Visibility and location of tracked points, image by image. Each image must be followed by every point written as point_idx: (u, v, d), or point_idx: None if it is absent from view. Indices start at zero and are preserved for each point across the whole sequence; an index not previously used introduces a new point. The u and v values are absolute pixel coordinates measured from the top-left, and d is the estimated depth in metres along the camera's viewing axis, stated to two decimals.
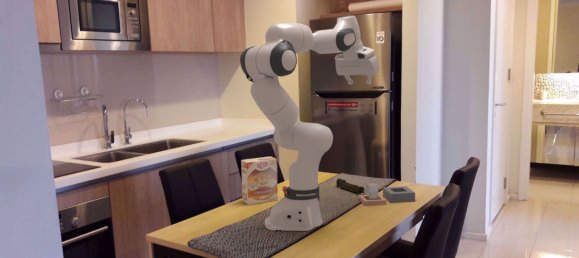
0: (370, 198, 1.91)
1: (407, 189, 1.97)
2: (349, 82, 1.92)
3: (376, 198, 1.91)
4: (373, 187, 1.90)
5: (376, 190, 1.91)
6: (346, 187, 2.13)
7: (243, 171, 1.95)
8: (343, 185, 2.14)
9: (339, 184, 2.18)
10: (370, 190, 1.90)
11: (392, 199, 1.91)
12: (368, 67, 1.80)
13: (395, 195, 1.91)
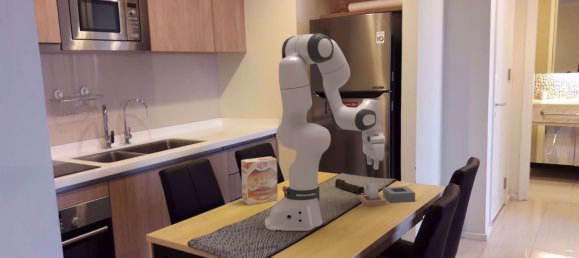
0: (370, 198, 1.91)
1: (407, 189, 1.97)
2: (367, 162, 1.96)
3: (376, 198, 1.91)
4: (373, 187, 1.90)
5: (376, 190, 1.91)
6: (346, 187, 2.12)
7: (243, 171, 1.95)
8: (343, 185, 2.14)
9: (338, 184, 2.17)
10: (370, 190, 1.90)
11: (392, 199, 1.91)
12: (373, 152, 1.83)
13: (395, 195, 1.91)
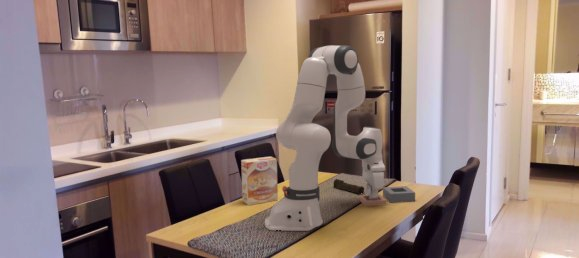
0: (370, 198, 1.91)
1: (407, 189, 1.97)
2: None
3: (376, 198, 1.91)
4: None
5: None
6: (345, 187, 2.12)
7: (243, 171, 1.95)
8: (342, 186, 2.14)
9: (337, 185, 2.17)
10: (370, 190, 1.90)
11: (392, 199, 1.91)
12: (373, 180, 1.84)
13: (395, 195, 1.91)
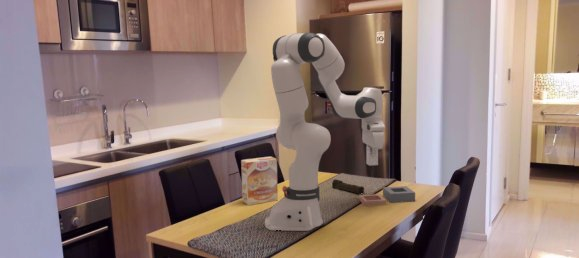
0: (370, 160, 1.89)
1: (407, 189, 1.97)
2: None
3: (376, 160, 1.89)
4: None
5: None
6: (344, 188, 2.12)
7: (243, 171, 1.95)
8: (341, 186, 2.13)
9: (336, 185, 2.16)
10: (370, 151, 1.88)
11: (392, 199, 1.91)
12: (372, 140, 1.82)
13: (395, 195, 1.91)
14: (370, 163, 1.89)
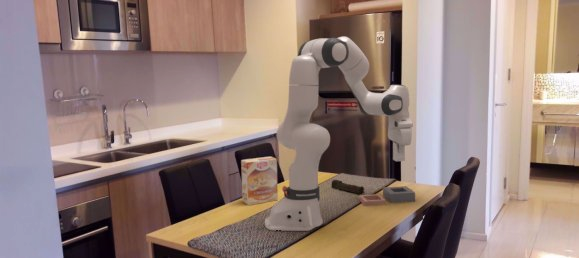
0: (397, 156, 1.93)
1: (407, 189, 1.97)
2: None
3: (403, 156, 1.93)
4: None
5: None
6: (344, 188, 2.11)
7: (243, 171, 1.95)
8: (341, 186, 2.13)
9: (335, 185, 2.16)
10: (397, 148, 1.92)
11: (392, 199, 1.91)
12: (400, 137, 1.86)
13: (395, 195, 1.91)
14: (397, 159, 1.93)
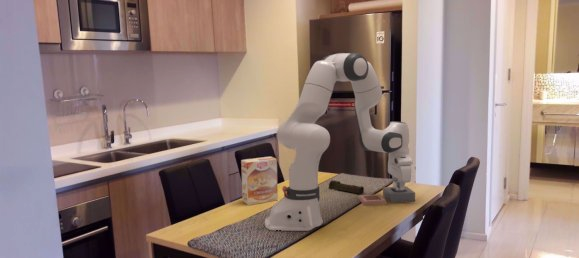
0: None
1: (407, 189, 1.97)
2: None
3: None
4: None
5: None
6: (343, 188, 2.11)
7: (243, 171, 1.95)
8: (340, 187, 2.12)
9: (334, 186, 2.15)
10: (397, 187, 1.95)
11: (392, 199, 1.91)
12: (400, 174, 1.88)
13: (395, 195, 1.91)
14: None
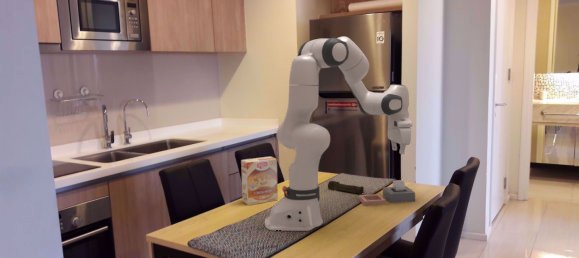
0: None
1: (407, 189, 1.97)
2: (392, 148, 2.00)
3: None
4: (400, 184, 1.95)
5: (402, 187, 1.95)
6: (343, 188, 2.10)
7: (243, 171, 1.95)
8: (339, 187, 2.11)
9: (333, 186, 2.14)
10: (397, 187, 1.95)
11: (392, 199, 1.91)
12: (400, 136, 1.87)
13: (395, 195, 1.91)
14: None
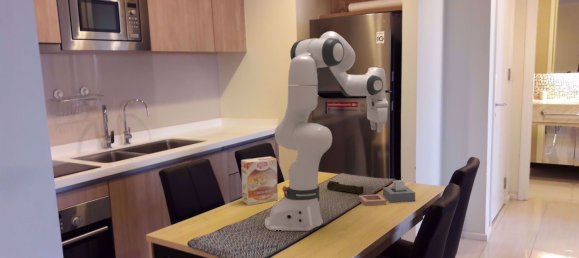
0: None
1: (407, 189, 1.97)
2: (371, 127, 2.11)
3: None
4: (400, 184, 1.95)
5: (402, 187, 1.95)
6: (343, 189, 2.10)
7: (243, 171, 1.95)
8: (339, 187, 2.11)
9: (332, 187, 2.13)
10: (397, 187, 1.95)
11: (392, 199, 1.91)
12: (377, 116, 1.99)
13: (395, 195, 1.91)
14: None
